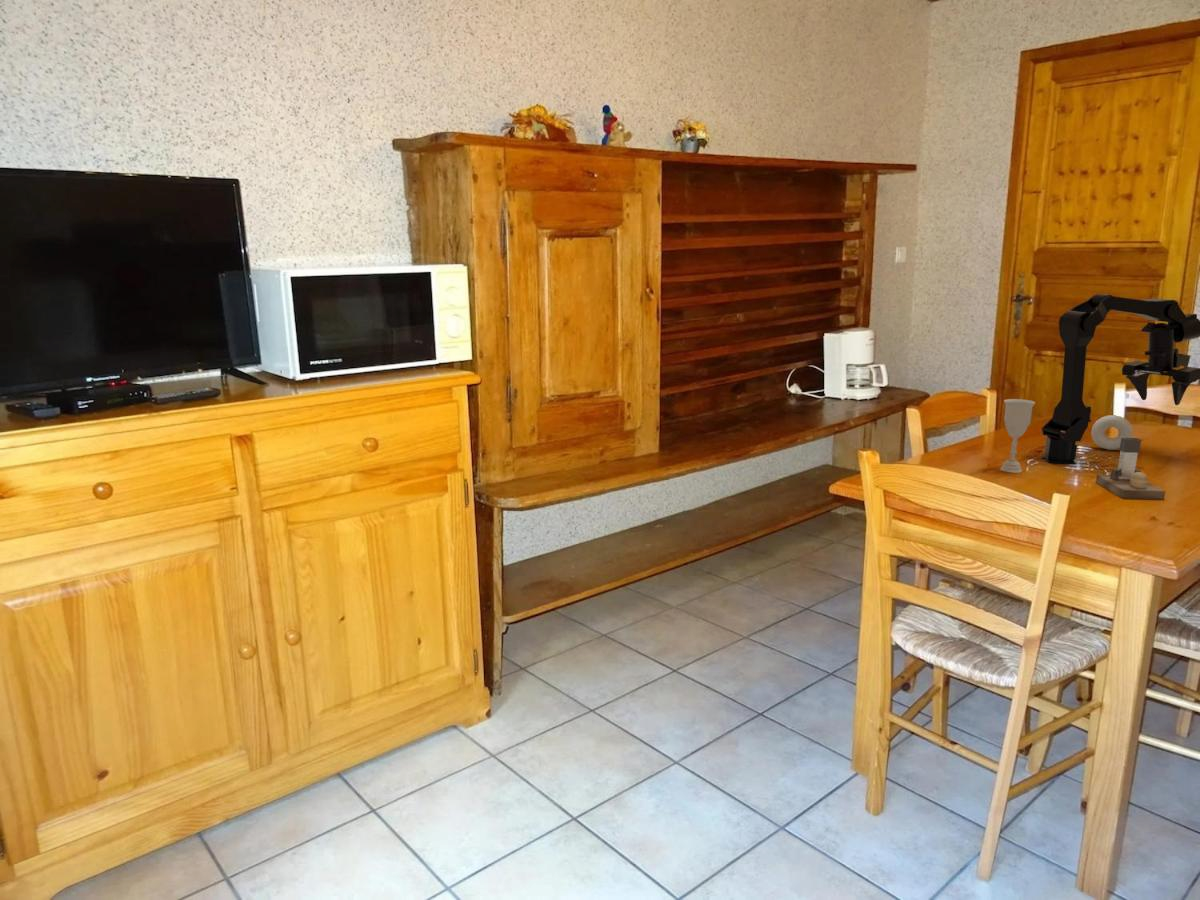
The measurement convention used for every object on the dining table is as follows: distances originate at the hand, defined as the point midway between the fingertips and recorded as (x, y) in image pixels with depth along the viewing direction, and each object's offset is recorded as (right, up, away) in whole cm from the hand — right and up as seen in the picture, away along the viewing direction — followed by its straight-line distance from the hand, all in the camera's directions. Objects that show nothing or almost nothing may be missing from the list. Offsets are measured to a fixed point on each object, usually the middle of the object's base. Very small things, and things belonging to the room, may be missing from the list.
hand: (1160, 402), depth 226 cm
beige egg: (-27, -22, -32) cm, 47 cm away
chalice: (-46, -18, -11) cm, 51 cm away
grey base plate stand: (-27, -23, -29) cm, 45 cm away
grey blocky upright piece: (-27, -19, -27) cm, 42 cm away
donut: (-8, -13, +9) cm, 18 cm away
